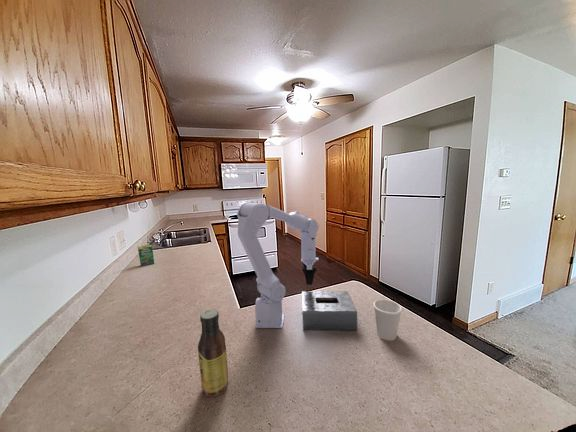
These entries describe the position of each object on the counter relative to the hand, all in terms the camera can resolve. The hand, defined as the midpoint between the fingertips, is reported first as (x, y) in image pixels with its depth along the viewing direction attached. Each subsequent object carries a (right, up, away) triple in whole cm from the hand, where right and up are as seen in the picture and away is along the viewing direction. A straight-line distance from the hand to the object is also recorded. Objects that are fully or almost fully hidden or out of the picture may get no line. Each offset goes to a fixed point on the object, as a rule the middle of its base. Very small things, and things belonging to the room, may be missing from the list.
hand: (308, 280), depth 90 cm
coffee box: (-102, -6, +57) cm, 117 cm away
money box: (+6, -11, -9) cm, 16 cm away
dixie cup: (+23, -12, -19) cm, 32 cm away
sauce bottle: (-26, -16, -36) cm, 48 cm away
